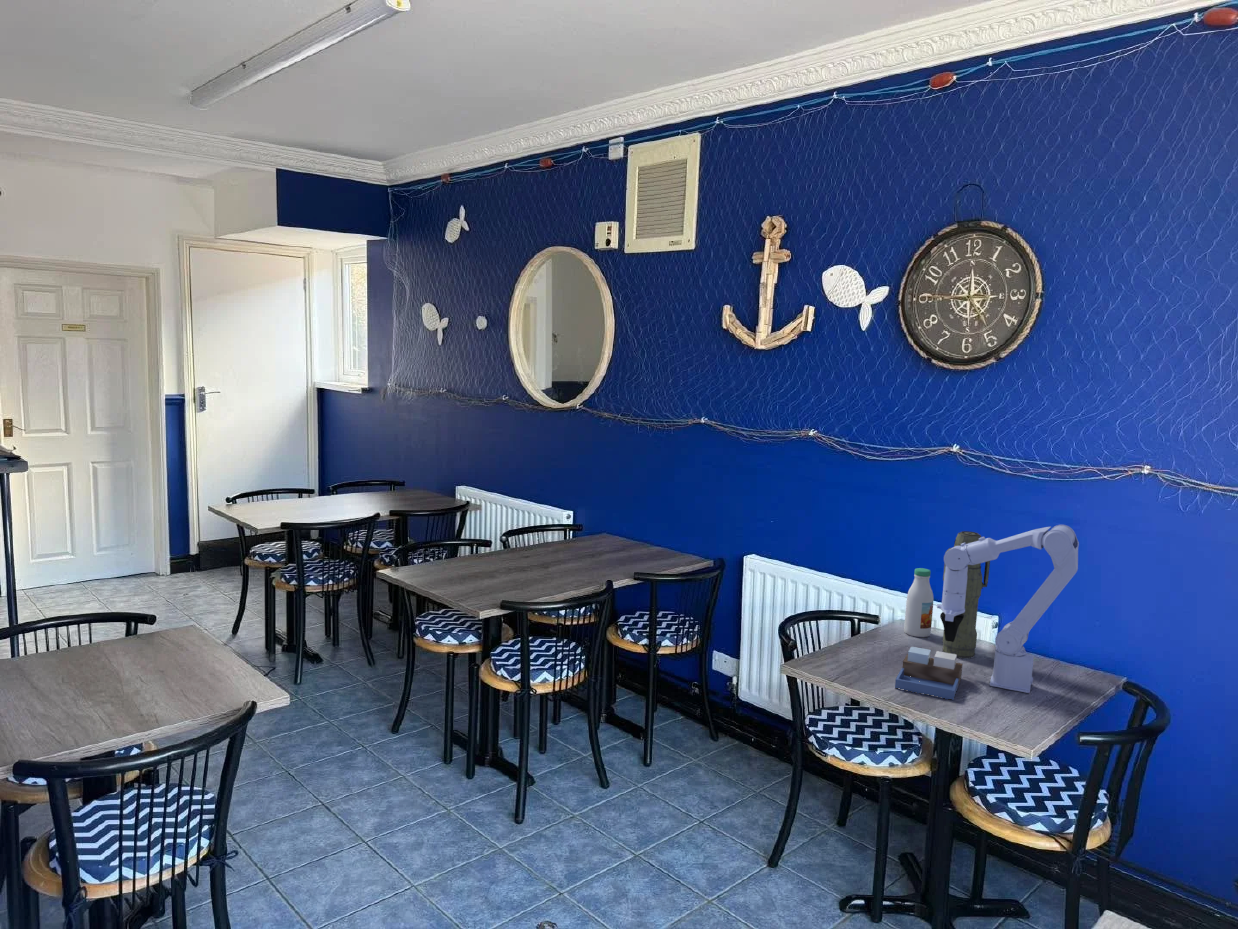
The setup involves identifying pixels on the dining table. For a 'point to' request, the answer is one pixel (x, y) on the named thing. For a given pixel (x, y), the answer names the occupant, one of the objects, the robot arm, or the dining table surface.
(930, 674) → the brown rectangular block
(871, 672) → the dining table surface
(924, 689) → the tray
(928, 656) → the blue tile
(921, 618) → the milk bottle
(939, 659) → the cream tile
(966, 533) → the thermos
